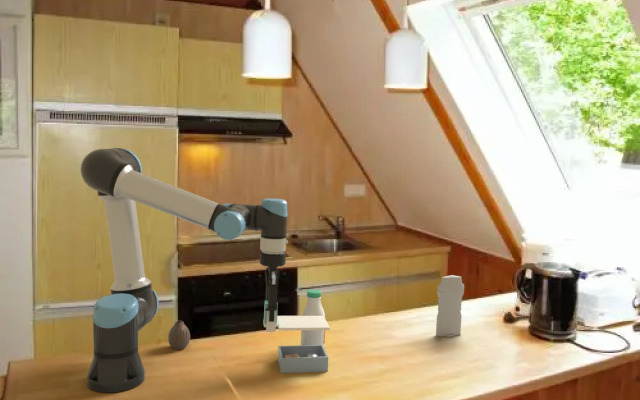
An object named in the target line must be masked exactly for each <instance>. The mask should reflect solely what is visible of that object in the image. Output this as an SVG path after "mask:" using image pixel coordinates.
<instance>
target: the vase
mask: <svg viewBox="0 0 640 400" xmlns="http://www.w3.org/2000/svg"><path fill="white" fill-rule="evenodd" d="M167 337H168V338H167V340H168V344H169V346H170V347H171V349H173V350H175V351H180V350H184V349H186V348H187V347H188V345H189V343H190V341H191V333H190V329H189V328H188V326H186V324H185V323H184V321H183V320H176V321H175V322H174V324H173V325H172V326H171V328H170V330H169V332H168V336H167Z"/></svg>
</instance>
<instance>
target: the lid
mask: <svg viewBox="0 0 640 400" xmlns="http://www.w3.org/2000/svg"><path fill="white" fill-rule="evenodd" d="M278 305H279V303H278V302H277V310H276V328H278V331H279V332H280V331H301V330H325V331H330V328H331V327H330V325H329V323H328V321H327V320H326V316H325V317H324V316H302V315H278V307H279V306H278ZM265 308H268V300H266V299H264V312H263V318H262V319H263V320H262V321H263V322H262V324H263V327H264V328H266V321H267V311H265Z"/></svg>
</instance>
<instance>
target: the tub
mask: <svg viewBox="0 0 640 400" xmlns="http://www.w3.org/2000/svg"><path fill="white" fill-rule="evenodd" d="M308 353H316V354H317V355H318V357H307V354H308ZM290 354H298V355H299V356H300V357H291V358H284V355H290ZM277 363H278V367H279V372H280V374H294V373H295V374H297V373H298V374H299V373H321V372H322V373H324V372H325V373H327V372H328V371H329V368H328V367H329V356H328V354H327V351H326V349H325V345H324V346H323V345H301V344H300V345H278V346H277Z"/></svg>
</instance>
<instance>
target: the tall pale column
mask: <svg viewBox="0 0 640 400" xmlns="http://www.w3.org/2000/svg"><path fill="white" fill-rule="evenodd" d="M439 282H440V283H439V284H438V285H437V291H436V293H437V294H436V296H437V297H438V298H437V301H438V305H437V306H438V307H437V315H436V324H435V325H436V329H435V336H436V337H438V336H439V337H442V338H444V337H445V338H446V337H447V338H452V337H453V338H454V337H456V336H461V334H462V333H461V331H462V330H461V329H462V312H461V311H462V301H463V296H464V295H465V284H464V283H463V280H462V276H461V275H460V276H459V275H453V274H451V275H447V276H442V277H441V280H440V281H439Z"/></svg>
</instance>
